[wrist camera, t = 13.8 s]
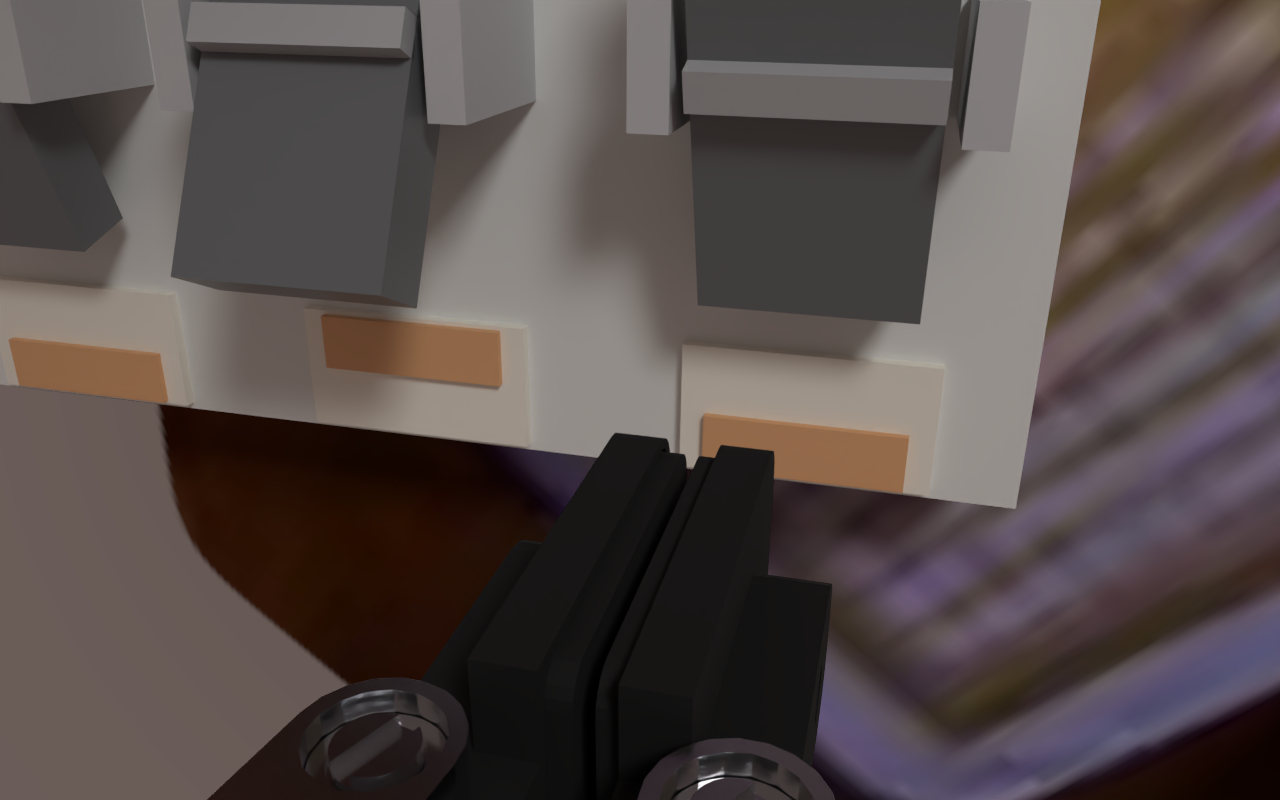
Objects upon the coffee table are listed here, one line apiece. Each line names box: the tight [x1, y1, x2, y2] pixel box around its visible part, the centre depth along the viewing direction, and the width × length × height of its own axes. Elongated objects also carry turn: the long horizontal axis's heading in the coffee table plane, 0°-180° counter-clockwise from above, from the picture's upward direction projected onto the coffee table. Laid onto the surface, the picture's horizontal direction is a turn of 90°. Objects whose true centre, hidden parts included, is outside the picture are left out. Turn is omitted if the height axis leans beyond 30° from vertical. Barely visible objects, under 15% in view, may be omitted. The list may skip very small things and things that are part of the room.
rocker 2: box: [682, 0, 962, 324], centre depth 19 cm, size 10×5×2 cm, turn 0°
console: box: [0, 0, 1101, 509], centre depth 24 cm, size 20×30×8 cm, turn 89°
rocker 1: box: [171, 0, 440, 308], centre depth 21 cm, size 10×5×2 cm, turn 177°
